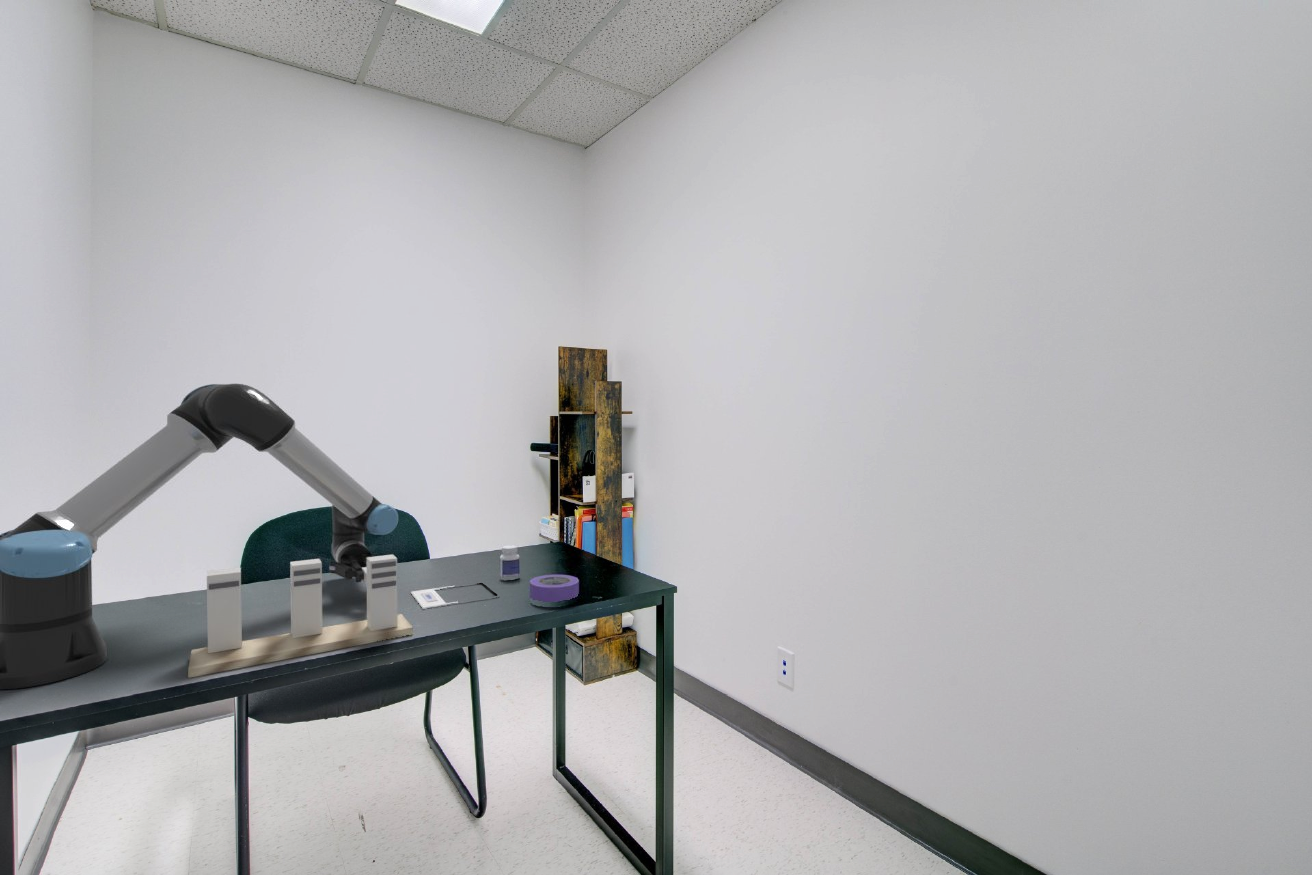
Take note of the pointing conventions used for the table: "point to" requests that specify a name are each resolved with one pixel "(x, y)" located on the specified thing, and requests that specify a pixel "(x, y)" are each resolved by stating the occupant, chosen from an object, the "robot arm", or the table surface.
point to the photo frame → (429, 598)
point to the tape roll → (554, 588)
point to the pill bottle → (509, 562)
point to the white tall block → (306, 597)
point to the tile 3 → (381, 592)
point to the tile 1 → (224, 610)
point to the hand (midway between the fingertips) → (370, 579)
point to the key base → (291, 646)
